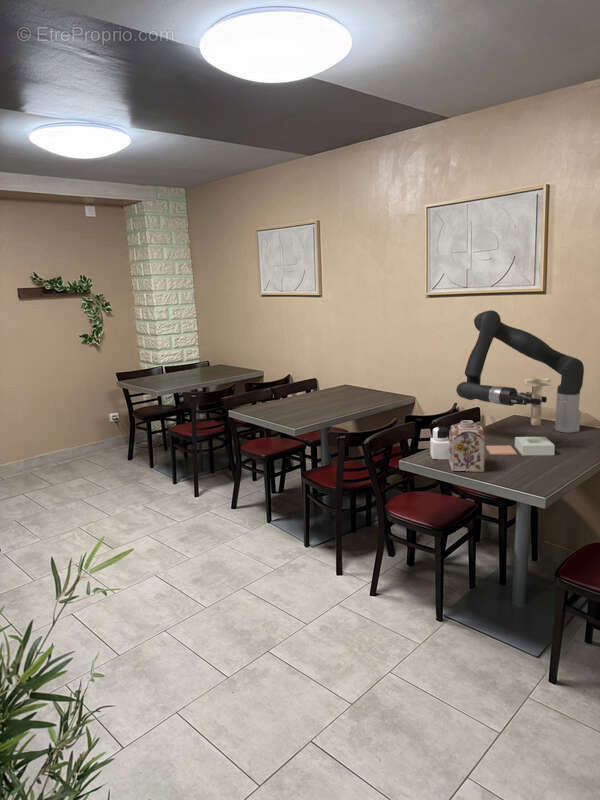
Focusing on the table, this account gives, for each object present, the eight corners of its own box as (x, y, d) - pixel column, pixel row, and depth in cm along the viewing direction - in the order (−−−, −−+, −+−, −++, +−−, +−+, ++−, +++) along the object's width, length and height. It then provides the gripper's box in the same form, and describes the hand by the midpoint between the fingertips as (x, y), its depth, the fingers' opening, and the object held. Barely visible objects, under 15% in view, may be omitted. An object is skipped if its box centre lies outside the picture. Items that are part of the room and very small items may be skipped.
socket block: (544, 445, 230) (545, 436, 229) (554, 455, 218) (554, 445, 218) (514, 446, 232) (515, 436, 231) (522, 455, 220) (522, 445, 219)
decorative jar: (484, 472, 204) (485, 425, 200) (451, 472, 206) (452, 425, 202) (479, 461, 215) (480, 417, 211) (448, 461, 217) (449, 417, 213)
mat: (510, 446, 231) (510, 445, 231) (516, 454, 221) (516, 453, 221) (485, 447, 232) (485, 445, 232) (490, 454, 222) (490, 453, 222)
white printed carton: (448, 453, 226) (448, 425, 224) (450, 459, 219) (451, 430, 217) (430, 454, 227) (430, 425, 224) (432, 459, 220) (432, 430, 217)
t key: (546, 423, 223) (548, 378, 219) (548, 425, 221) (550, 379, 216) (522, 423, 225) (524, 378, 220) (524, 425, 222) (526, 380, 218)
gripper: (494, 389, 225) (535, 395, 213) (511, 383, 235) (552, 388, 222) (493, 407, 227) (534, 413, 215) (511, 401, 236) (551, 406, 224)
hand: (543, 400), depth 218 cm, fingers closed on t key, 4 cm apart
